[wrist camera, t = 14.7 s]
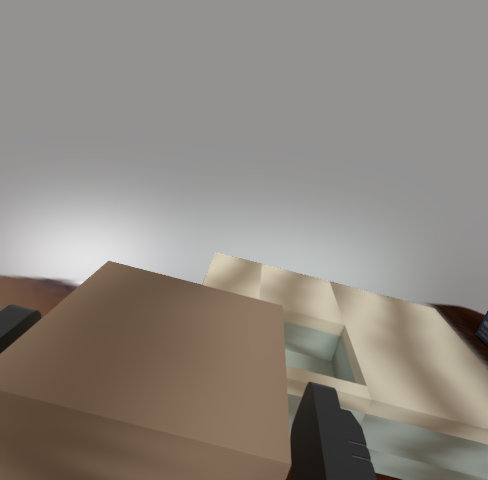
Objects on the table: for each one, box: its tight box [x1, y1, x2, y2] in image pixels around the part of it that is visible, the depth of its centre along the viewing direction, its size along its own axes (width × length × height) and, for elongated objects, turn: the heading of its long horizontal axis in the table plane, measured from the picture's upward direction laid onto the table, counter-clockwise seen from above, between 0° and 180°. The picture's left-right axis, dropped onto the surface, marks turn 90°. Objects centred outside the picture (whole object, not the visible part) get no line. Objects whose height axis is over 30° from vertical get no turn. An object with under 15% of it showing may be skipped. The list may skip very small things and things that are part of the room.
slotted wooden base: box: [202, 252, 488, 480], centre depth 29 cm, size 22×16×5 cm
